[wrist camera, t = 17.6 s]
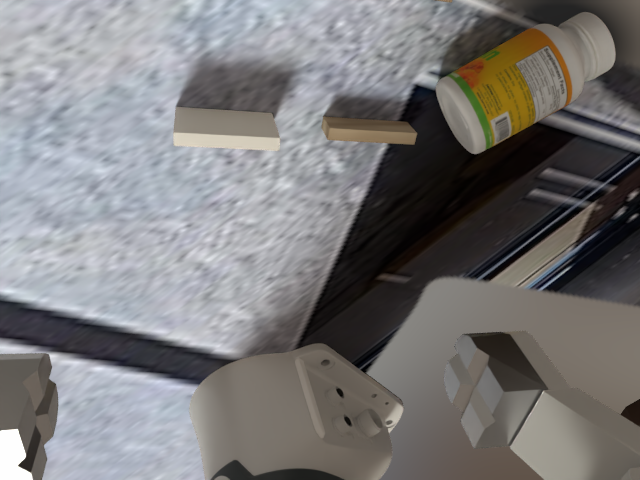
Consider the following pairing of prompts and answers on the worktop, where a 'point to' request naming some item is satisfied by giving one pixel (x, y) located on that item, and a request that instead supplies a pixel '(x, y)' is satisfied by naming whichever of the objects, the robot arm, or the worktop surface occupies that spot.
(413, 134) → the wooden plank piece
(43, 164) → the worktop surface
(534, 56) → the supplement bottle
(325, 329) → the worktop surface
